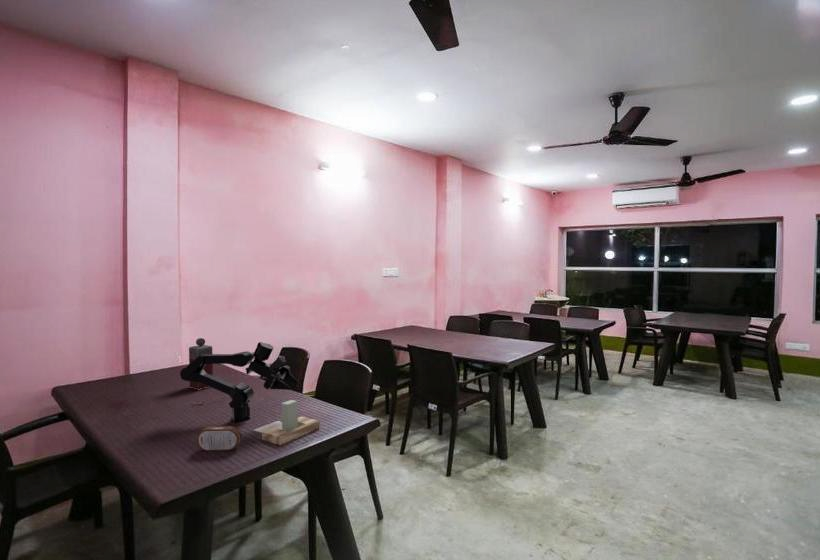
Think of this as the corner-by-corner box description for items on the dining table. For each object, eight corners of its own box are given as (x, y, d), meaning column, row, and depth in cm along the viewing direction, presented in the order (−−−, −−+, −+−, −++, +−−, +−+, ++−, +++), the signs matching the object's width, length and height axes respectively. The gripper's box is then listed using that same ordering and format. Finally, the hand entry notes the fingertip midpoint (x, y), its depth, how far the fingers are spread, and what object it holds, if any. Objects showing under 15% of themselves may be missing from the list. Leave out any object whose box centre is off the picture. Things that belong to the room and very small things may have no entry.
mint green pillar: (276, 434, 163) (275, 403, 163) (291, 428, 170) (291, 398, 170) (288, 438, 159) (287, 406, 159) (303, 431, 166) (303, 400, 166)
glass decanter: (202, 383, 241) (201, 336, 241) (213, 386, 235) (212, 337, 234) (187, 387, 234) (186, 338, 233) (197, 390, 227) (196, 339, 227)
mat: (253, 430, 167) (253, 429, 167) (277, 421, 178) (277, 420, 178) (269, 435, 162) (269, 434, 162) (293, 426, 172) (293, 425, 172)
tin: (241, 447, 151) (241, 424, 151) (238, 451, 148) (238, 428, 148) (200, 448, 151) (199, 425, 151) (196, 452, 148) (195, 429, 148)
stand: (262, 439, 158) (262, 431, 158) (301, 423, 175) (301, 416, 175) (280, 445, 153) (280, 437, 153) (319, 428, 170) (319, 420, 169)
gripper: (261, 357, 171) (294, 374, 170) (279, 348, 189) (309, 364, 188) (250, 381, 171) (283, 398, 170) (269, 370, 190) (298, 386, 189)
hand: (294, 385), depth 179 cm, fingers open, 9 cm apart
